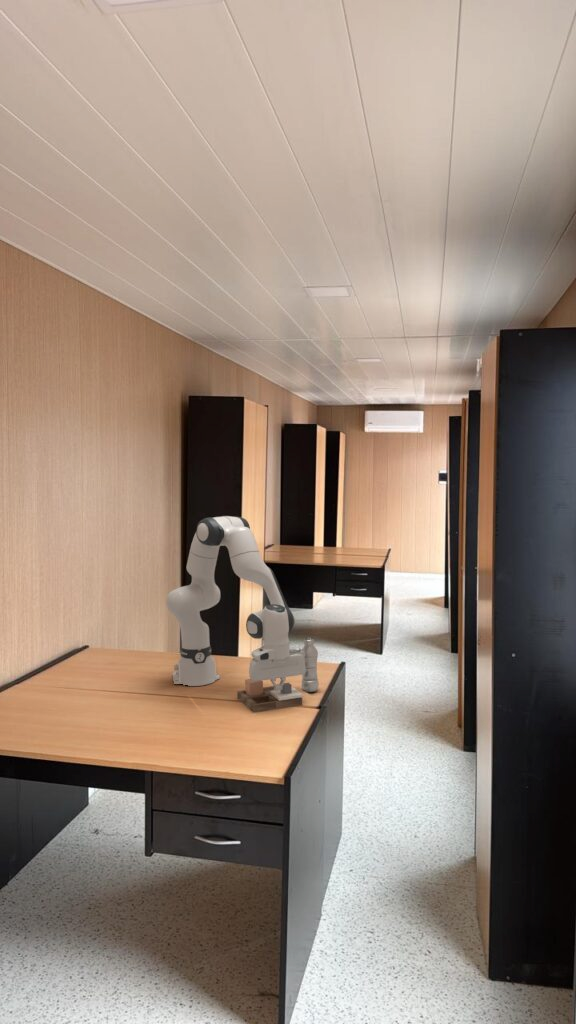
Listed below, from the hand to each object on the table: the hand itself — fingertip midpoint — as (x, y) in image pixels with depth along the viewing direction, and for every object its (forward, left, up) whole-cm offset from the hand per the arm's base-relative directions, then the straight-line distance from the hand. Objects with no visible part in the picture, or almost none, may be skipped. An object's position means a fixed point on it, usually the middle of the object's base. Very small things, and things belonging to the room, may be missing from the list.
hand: (278, 690), depth 263 cm
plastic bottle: (-12, +17, -6) cm, 22 cm away
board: (-5, -2, -6) cm, 8 cm away
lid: (0, +3, -2) cm, 4 cm away
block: (-9, -6, -5) cm, 12 cm away
